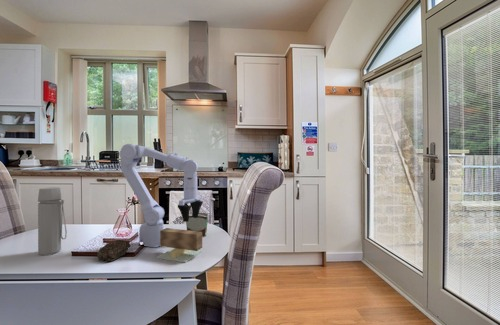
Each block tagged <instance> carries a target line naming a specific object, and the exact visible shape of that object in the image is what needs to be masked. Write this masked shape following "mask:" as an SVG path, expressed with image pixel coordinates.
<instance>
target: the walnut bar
mask: <svg viewBox="0 0 500 325" xmlns="http://www.w3.org/2000/svg"><path fill="white" fill-rule="evenodd" d="M159 247H162V248H163V247H164V248H172V249H173V248H177V249H184V250H192V251H198V250H202V249H203V236H202V232H198V231H189V230H187V229H178V228H168V227H166V228H163V230H161V231H160V246H159Z"/></svg>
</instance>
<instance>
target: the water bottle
mask: <svg viewBox="0 0 500 325" xmlns="http://www.w3.org/2000/svg"><path fill="white" fill-rule="evenodd" d="M37 202H38V204H37V230H38V232H37V234H38V235H37V241H38V242H37V245H38V246H37V247H38V248H37V250H38V251H37V253H38V254H39V255H41V256H51V255H56V254H57V253H59V252H60V251H61V250H62V240H66V239H67V233H68V232H67V225H66V217H65V209H64V202H65V200H64V199H62V192H61V187H59V186H58V187H52V186H51V187H41V188H39V189H38V197H37ZM63 223H64V224H63ZM63 225H64V230H65V231H64V232H65V235H64V238H63Z"/></svg>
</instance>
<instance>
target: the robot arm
mask: <svg viewBox="0 0 500 325" xmlns="http://www.w3.org/2000/svg"><path fill="white" fill-rule="evenodd" d="M118 155H119V158H120V171H121V172H122V175H124V178H125V179H126V181H127V182H128V185H129V186H130V188H131V189H132V192H133V193H134V195H135V196H136V198H137V200H138V202H139V204H140V205H141V212H142V214H143V220H144V222H143V223H142V224H140V227H139V231H138V232H139V233H138V234H139V235H138V236H139V237H138V240H139V241H138V242H143V243H145V244H144V246H145V247H150V248H158V247H161V246H160V231H161V230H163V229H164V220H163V218H164V217H165V213H166V212H165V209H164V207H162V206H160V205H159V203H158V202H157V201H156V200H155V199H154V198H153V197H152V195H151V194H150V191H149V189H148V188H147V186H146V184H145V183H144V180H143V179H142V177H141V176H140V174H139V171H137V169H136V167H137V165H138V162H139V161H140V160H141V159H142V158H146V157H149V158H152V159H155V160H159V161H161V162H165V163H166V166H168V167H170V168H172V169H175V170H178V171H183V198H182V199H180V200H178V204H177V208H178V210H179V212H180V215H181V217H182V221H183V222H184V223H186V222H188V221H189V213H192V215H193V218H198V215H199V213H200V212H201V211H200V209H201V208H202V205H203V204H204V203H203V202H204V201H202V196H201V195H198V172H197V171H198V169H199V165H198V163H197V161H195V160H193V159H189V157H184V156H180V155H179V154H178V153H176V152H175V153H171V154H166V153H164V152H161V151H158V150H156V149H155V148H154V149H153V148H151V147H147V146H143V145H139V144H132V143H125V144H124V145H122V147H121V148H120V151H119V153H118ZM190 211H192V212H190ZM144 246H143V247H144Z"/></svg>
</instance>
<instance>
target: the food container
mask: <svg viewBox="0 0 500 325" xmlns="http://www.w3.org/2000/svg"><path fill="white" fill-rule="evenodd" d="M209 220H210V216H209V214H208V213H206V212H199V215H198V218H193V215H192V212H189V221H188V222H185V223H186V224H185V226H186V230H189V231H198V232H202V238H203V237H206V236H207V230H208V221H209Z"/></svg>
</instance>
